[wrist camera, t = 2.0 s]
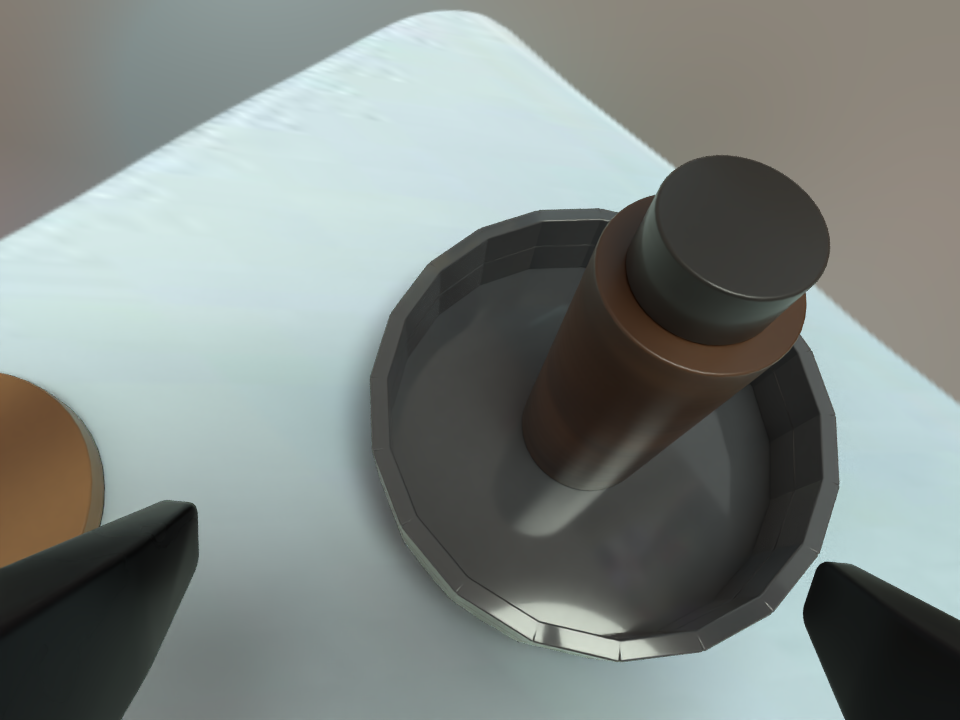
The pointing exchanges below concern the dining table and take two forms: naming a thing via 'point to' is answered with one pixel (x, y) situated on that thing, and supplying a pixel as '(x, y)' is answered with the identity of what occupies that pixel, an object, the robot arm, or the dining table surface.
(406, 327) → the pan
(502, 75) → the dining table surface
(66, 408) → the disc
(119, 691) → the robot arm
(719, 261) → the pepper mill
